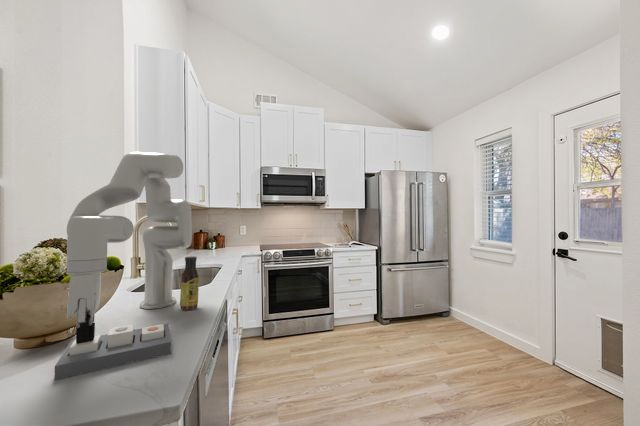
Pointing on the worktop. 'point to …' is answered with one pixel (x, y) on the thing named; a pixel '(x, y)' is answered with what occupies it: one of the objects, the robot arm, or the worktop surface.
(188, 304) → the sauce bottle
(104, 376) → the worktop surface
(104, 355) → the slotted grey tray
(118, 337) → the plain key
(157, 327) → the dot key
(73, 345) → the dot key
